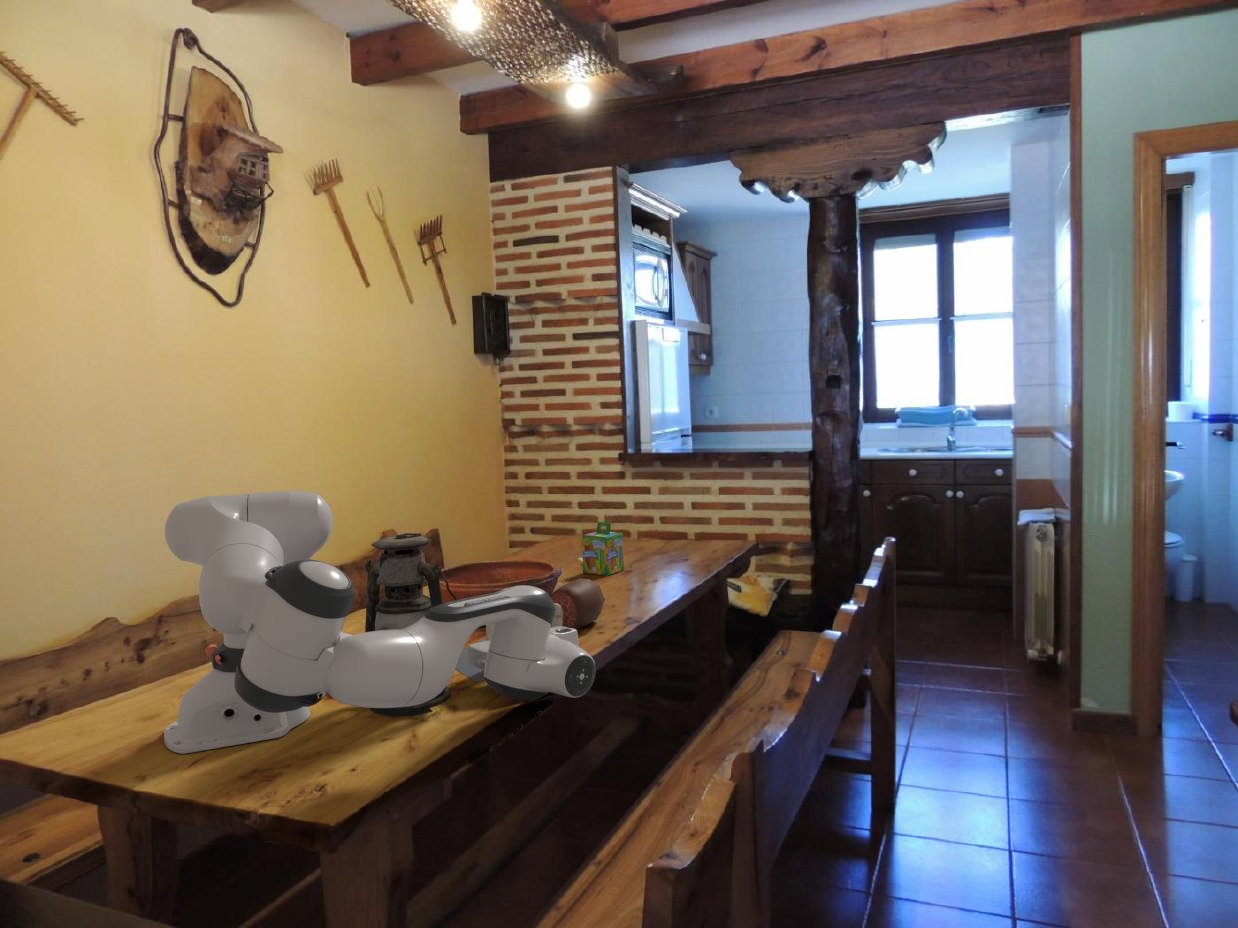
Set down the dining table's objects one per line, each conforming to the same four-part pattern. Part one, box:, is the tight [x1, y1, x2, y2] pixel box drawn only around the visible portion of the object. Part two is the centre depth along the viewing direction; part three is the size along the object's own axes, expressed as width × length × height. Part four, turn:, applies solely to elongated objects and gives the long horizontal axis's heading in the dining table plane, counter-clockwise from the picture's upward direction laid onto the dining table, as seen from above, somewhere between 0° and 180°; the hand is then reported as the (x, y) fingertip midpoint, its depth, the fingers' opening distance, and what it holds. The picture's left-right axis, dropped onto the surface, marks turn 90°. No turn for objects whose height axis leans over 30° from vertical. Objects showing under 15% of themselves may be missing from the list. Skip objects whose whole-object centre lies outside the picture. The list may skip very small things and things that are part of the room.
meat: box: [549, 578, 606, 631], centre depth 202 cm, size 20×12×10 cm, turn 156°
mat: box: [455, 647, 485, 683], centre depth 177 cm, size 16×22×1 cm
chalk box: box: [581, 521, 625, 577], centre depth 261 cm, size 9×9×15 cm
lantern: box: [364, 532, 458, 718], centre depth 157 cm, size 19×19×30 cm
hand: (504, 638), depth 171 cm, fingers open, 8 cm apart
